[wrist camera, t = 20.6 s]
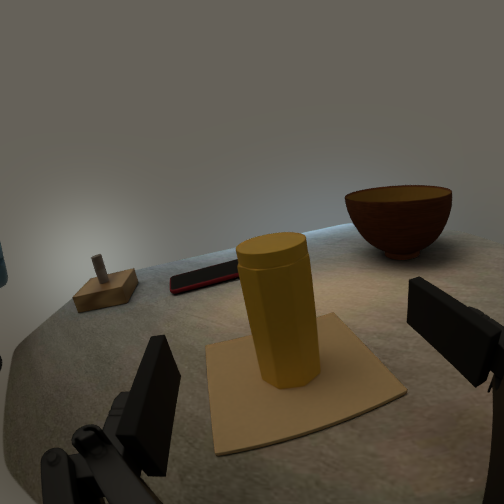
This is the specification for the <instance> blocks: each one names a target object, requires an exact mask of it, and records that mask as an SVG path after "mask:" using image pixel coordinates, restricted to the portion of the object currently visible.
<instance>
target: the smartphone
mask: <svg viewBox="0 0 504 504" xmlns="http://www.w3.org/2000/svg"><path fill="white" fill-rule="evenodd" d="M237 265H238V259H236V260H232V261H229V262H225V263H221V264H217V265H213V266H210V267H206V268H202V269H198V270H194V271H191V272H187V273H183V274H179V275H175V276H172V277H171V278H170V292H171V293H173V294H177V293H181V292H184V291H188V290H192V289H196V288H199V287H203V286H207V285H211V284H214V283H218V282H222V281H226V280H229V279H233V278H237V277H239V273H238V268H237Z"/></svg>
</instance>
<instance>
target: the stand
mask: <svg viewBox="0 0 504 504" xmlns="http://www.w3.org/2000/svg"><path fill="white" fill-rule="evenodd" d="M91 259H92V262H93V265H94V269H95V272H96V275H97V277H95V278H91V279H90V280H89V281H88V282H87V283H86V284H85V285H84V286H83V287H82V288H81V289H80V290H79V291H78V292H77V293H76V294H75V295H74V296H73V300H74V303H75V305H76V308H77V311H78V313H80V312H85V311H90V310H95V309H100V308H105V307H110V306H115V305H120V304H124V303H128V301H129V299H130V297H131V295H132V293H133V291H134V290H135V288H136V286H137V284H138V279H137V276H136V273H135V269H134V268H133V269H129V270H124V271H120V272H116V273H112V274H107V272H106V269H105V265H104V262H103V259H102V255H101V254H98V255H95V256H93V257H91Z"/></svg>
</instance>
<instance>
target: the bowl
mask: <svg viewBox="0 0 504 504" xmlns="http://www.w3.org/2000/svg"><path fill="white" fill-rule="evenodd" d="M345 202H346V207H347V210H348V213H349V215H350V218H351V220H352V222H353V224H354V225H355V227H356V228H357V230H358V232H359V233H360V234H361V235H362V237H363V238H364V239H365V240H366V241H367V242H369V243H370V244H371V245H373V246H374V247H376V248H378V249H380V250H382V251H385V256H386V257H388V258H391V259H396V260H407V259H412V258H415V257H417V256H419V254H420V250H422V249H424V248H426V247H427V246H429V245H430V244H432V243H433V242H434V241H435V240H436V239H437V238H438V237H439V235H440V234H441V233H442V231H443V229H444V227H445V225H446V223H447V220H448V218H449V215H450V211H451V206H452V191H451V190H450V189H448V188H444V187H437V186H425V185H402V186H387V187H378V188H371V189H365V190H360V191H356V192H352V193H350V194H347V195H346V196H345Z"/></svg>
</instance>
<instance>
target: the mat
mask: <svg viewBox="0 0 504 504" xmlns="http://www.w3.org/2000/svg"><path fill="white" fill-rule="evenodd" d="M316 321H317V331H318V343H319V355H320V368H321V373H320V374H318V375H317V376H316V377H315V378H314V379H313V380H311V381H310V382H309V383H308V384H307V385H306V386H303V387H295V388H286V389H278V388H276V387H274V386H273V385H271V384H269V383H267V382H266V381H264V380H262V377H261V373H260V369H259V364H258V360H257V355H256V351H255V346H254V342H253V337H252V335H249V336H245V337H241V338H236V339H232V340H228V341H223V342H219V343H214V344H210V345H205V349H206V364H207V377H208V389H209V401H210V412H211V422H212V431H213V441H214V449H215V454H216V456H221V455H226V454H232V453H237V452H242V451H246V450H251V449H255V448H260V447H264V446H268V445H272V444H276V443H279V442H283V441H287V440H290V439H294V438H297V437H300V436H304V435H307V434H310V433H313V432H316V431H319V430H322V429H325V428H328V427H330V426H333V425H336V424H339V423H341V422H344V421H346V420H349V419H351V418H354V417H356V416H359V415H361V414H364V413H366V412H368V411H371V410H373V409H375V408H377V407H380V406H382V405H384V404H386V403H388V402H390V401H392V400H394V399H396V398H398V397H400V396H402V395H404V394H406V393H407V389H406V388H405V387H404V386H403V385H402V384H401V382H400V381H399V380H398V379H397V378H396V377H395V376H394V375H393V374H392V373H391V372H390V371H389V370H388V369H387V368H386V367H385V366H384V364H383V363H382V362H381V361H380V360H379V359H378V358H377V357H376V356H375V355H374V354H373V353H372V352H371V351H370V350H369V349H368V348H367V347H366V346H365V345H364V343H363V342H362V341H361V340H360V339H359V338H358V337H357V336H356V335H355V334H354V333H353V332H352V331H351V330H350V329H349V328H348V327H347V326H346V325H345V324H344V323H343V322H342V321H341V320H340V319H339V318H338V316H337V315H336V314H335V313H334V312H333V313H329V314H326V315H323V316H319V317H316Z"/></svg>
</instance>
